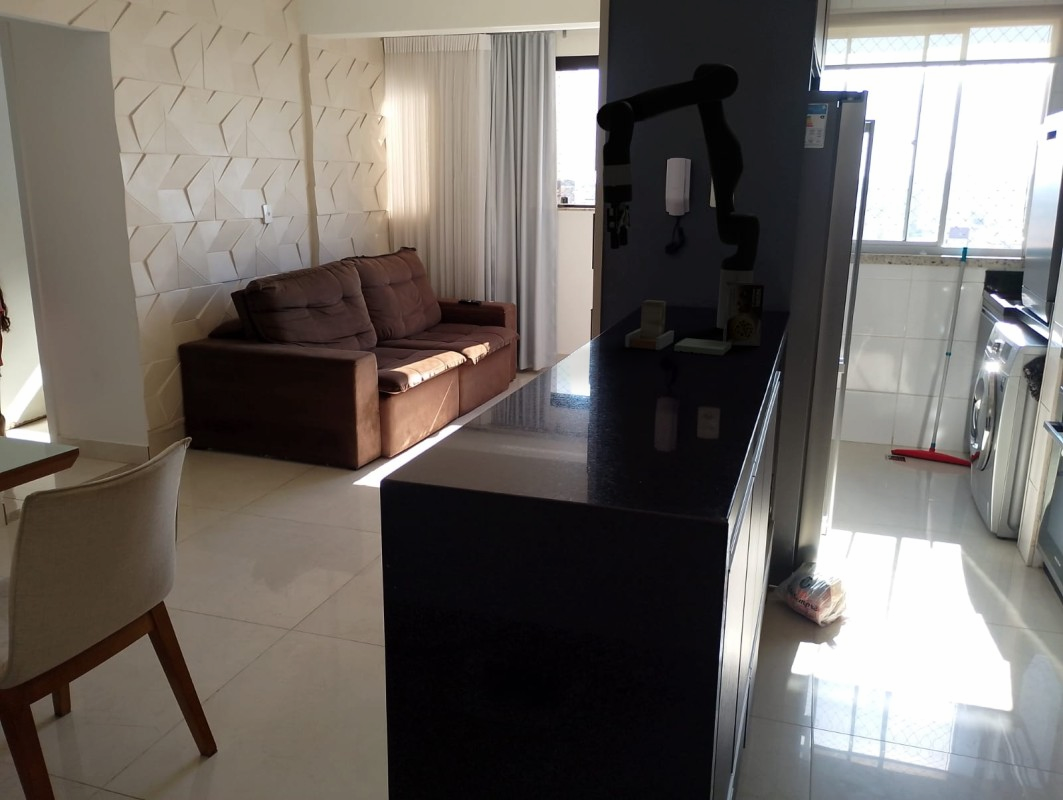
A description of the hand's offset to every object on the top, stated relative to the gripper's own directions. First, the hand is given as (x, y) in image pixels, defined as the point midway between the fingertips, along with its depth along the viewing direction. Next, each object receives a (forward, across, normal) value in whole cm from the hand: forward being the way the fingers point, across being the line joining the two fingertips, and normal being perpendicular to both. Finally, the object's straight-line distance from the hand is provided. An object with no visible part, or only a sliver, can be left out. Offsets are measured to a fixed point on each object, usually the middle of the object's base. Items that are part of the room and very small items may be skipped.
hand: (619, 247), depth 227 cm
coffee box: (+27, -7, +30) cm, 41 cm away
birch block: (+25, +4, +9) cm, 27 cm away
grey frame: (+25, +6, +9) cm, 27 cm away
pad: (+26, +6, +23) cm, 35 cm away
